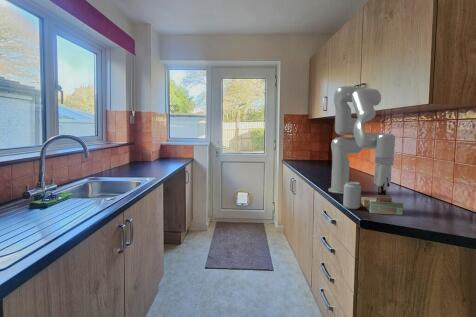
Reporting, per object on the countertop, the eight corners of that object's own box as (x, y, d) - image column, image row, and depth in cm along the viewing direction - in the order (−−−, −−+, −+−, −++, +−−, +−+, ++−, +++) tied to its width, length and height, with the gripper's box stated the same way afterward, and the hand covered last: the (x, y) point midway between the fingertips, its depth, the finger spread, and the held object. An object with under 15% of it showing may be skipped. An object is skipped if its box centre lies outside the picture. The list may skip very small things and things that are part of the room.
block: (376, 203, 139) (376, 194, 139) (387, 204, 138) (388, 195, 138) (379, 206, 134) (379, 197, 134) (391, 206, 133) (391, 197, 133)
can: (349, 210, 138) (350, 184, 137) (339, 206, 146) (340, 181, 144) (363, 209, 140) (365, 183, 139) (353, 205, 148) (354, 180, 146)
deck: (361, 203, 152) (361, 193, 151) (389, 204, 149) (389, 194, 149) (370, 213, 134) (371, 201, 133) (402, 214, 132) (403, 203, 131)
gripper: (371, 158, 146) (368, 196, 149) (380, 163, 132) (377, 204, 134) (387, 159, 145) (384, 197, 147) (398, 163, 131) (395, 205, 133)
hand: (381, 200), depth 141 cm, fingers closed
